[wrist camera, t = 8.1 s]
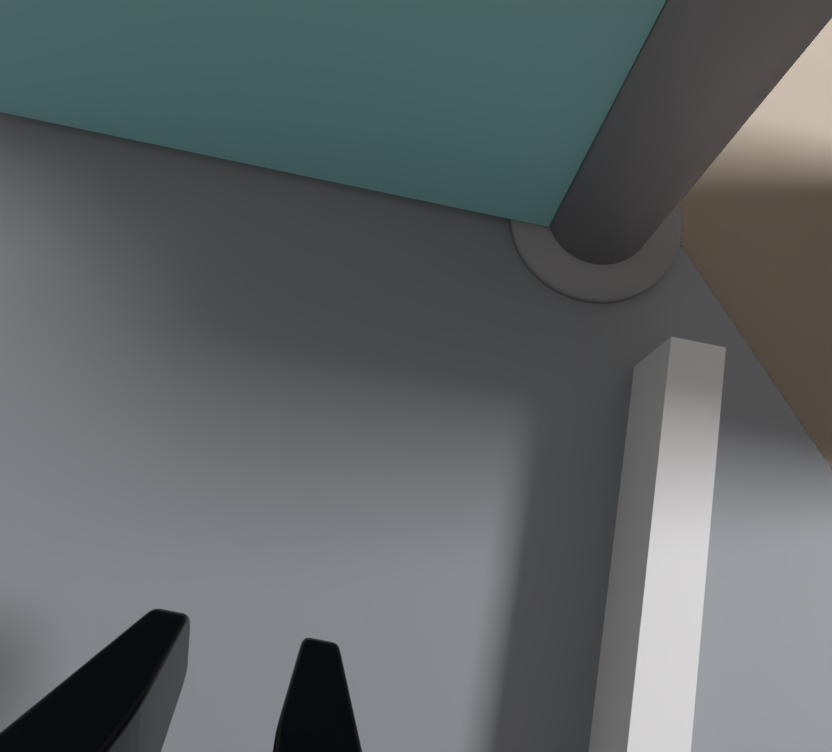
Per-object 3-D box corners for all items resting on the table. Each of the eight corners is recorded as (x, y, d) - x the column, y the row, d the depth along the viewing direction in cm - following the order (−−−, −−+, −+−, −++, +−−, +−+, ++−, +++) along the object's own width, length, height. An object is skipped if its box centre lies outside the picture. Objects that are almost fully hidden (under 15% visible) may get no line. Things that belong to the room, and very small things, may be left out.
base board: (83, 1462, 12) (-4, 1737, 9) (-383, 189, 17) (-539, 106, 14) (1019, 763, 16) (1169, 804, 13) (419, -128, 20) (429, -248, 17)
